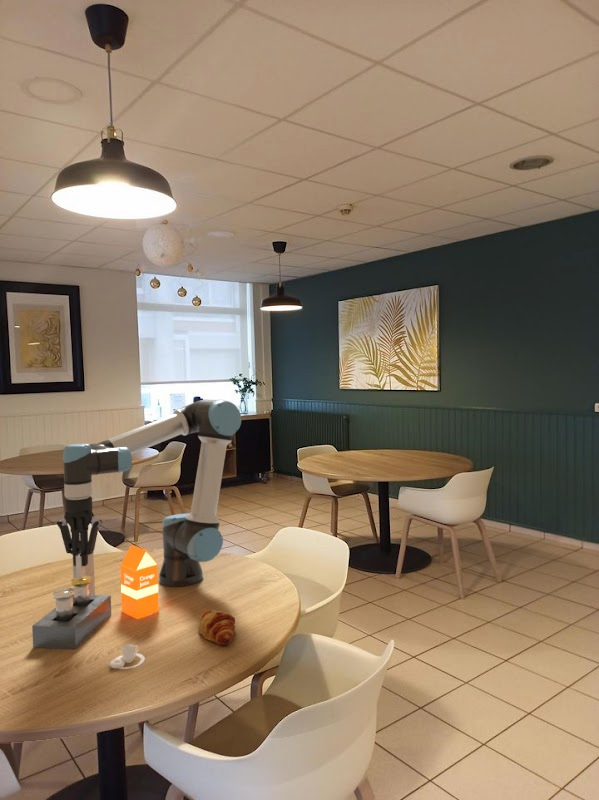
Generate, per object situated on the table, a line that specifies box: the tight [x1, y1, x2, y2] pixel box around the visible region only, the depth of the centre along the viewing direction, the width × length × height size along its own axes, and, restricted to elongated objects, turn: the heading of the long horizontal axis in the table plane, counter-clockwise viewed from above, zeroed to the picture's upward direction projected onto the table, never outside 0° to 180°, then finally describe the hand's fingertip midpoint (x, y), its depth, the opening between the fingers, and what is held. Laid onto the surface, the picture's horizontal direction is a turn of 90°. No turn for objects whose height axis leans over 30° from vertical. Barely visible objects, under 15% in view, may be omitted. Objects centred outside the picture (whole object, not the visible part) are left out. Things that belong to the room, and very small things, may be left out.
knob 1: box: [52, 587, 75, 621], centre depth 158 cm, size 6×6×8 cm
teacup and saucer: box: [109, 643, 146, 670], centre depth 145 cm, size 9×8×4 cm
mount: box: [31, 594, 112, 650], centre depth 164 cm, size 12×22×6 cm, turn 174°
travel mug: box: [72, 551, 96, 595], centre depth 182 cm, size 6×7×20 cm
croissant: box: [197, 609, 236, 646], centre depth 160 cm, size 21×10×8 cm, turn 25°
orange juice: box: [120, 544, 160, 620], centre depth 176 cm, size 8×9×20 cm
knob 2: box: [70, 576, 92, 606], centre depth 168 cm, size 6×6×8 cm
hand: (81, 576), depth 168 cm, fingers closed
